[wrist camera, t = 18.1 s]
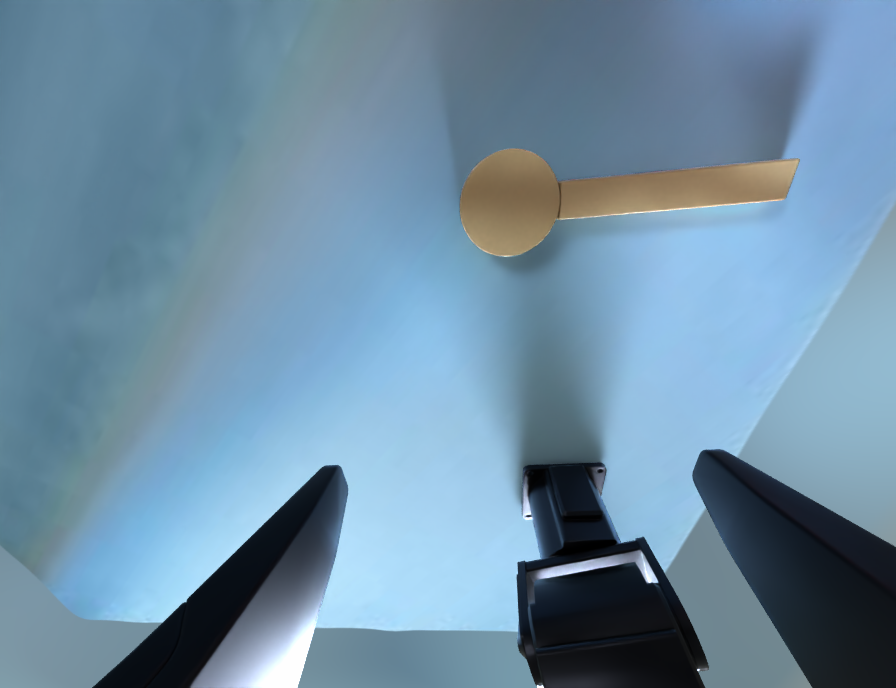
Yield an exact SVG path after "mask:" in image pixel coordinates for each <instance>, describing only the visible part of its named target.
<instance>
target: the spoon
mask: <svg viewBox="0 0 896 688" xmlns="http://www.w3.org/2000/svg"><path fill="white" fill-rule="evenodd" d="M799 161H800V159H798V158H792V159H776V160H766V161H756V162H745V163H735V164H725V165H715V166H704V167H694V168H684V169H674V170H664V171H653V172H643V173H633V174H623V175H612V176H602V177H592V178H582V179H571V180H561V181H557V178H556V176H555V174H554V172H553V170H552V169H551V167H550V166H549V165H548V163H547V162H546V161H545V160H544V159H542V158H541V157H540V156H538V155H537V154H535V153H533V152H530V151H527V150H524V149H505V150H501V151H498V152H495V153H493V154H491V155H489V156H487V157H486V158H484V159H483V160H481V161H480V162H479V163H478V164H477V165H476V166H475V167H474V168H473V169H472V171H471V172H470V174H469V175H468V177H467V179H466V181H465V182H464V185H463V188H462V192H461V196H460V216H461V221H462V225H463V227H464V230H465V232H466V233H467V235H468V237H469V238H470V239H471V241H472V242H473V243H474V244H475V245H476V246H477V247H479V248H480V249H481V250H483V251H485V252H487V253H489V254H492V255H496V256H515V255H519V254H522V253H525V252H527V251H529V250H531V249H532V248H534V247H535V246H537V245H538V244H539V243H540V242H541V241H542V240H543V239H544V238H545V237H546V236H547V235H548V233H549V232H550V230H551V229H552V227H553V225H554V223H555V220H556V219H558V220H566V219H578V218H589V217H600V216H611V215H622V214H633V213H645V212H656V211H667V210H678V209H689V208H701V207H712V206H723V205H734V204H745V203H756V202H768V201H779V200H784V199H785V198H786V196H787V194H788V191H789V188H790V185H791V183H792V180H793V177H794V175H795V172H796V169H797V167H798V164H799Z"/></svg>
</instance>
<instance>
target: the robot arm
mask: <svg viewBox="0 0 896 688" xmlns="http://www.w3.org/2000/svg"><path fill="white" fill-rule="evenodd" d="M605 475H606V468H605V466H604V464H603V463H599V462H598V463H572V464H546V465H527V466H525V467H524V468H523V488H522V516H523V518H524V519H533V524H534V529H535V533H536V538H537V543H538V548H539V552H540V557H541V559H539V560H534V561H529V562H525V561H521V562H518V575H517V592H518V612H519V627H518V648H519V651H520V653H521V654H522V655H523V656H524V657H525V658H526V659H527V662H528V665H529V667H530V671H531V674H532V676H533V679H534V682H535V684H536V686H537V687H538V688H705V686H704V684H703V682H702V680H701V677H700V675H699V673H698V671H706V670H709V666H708V662H707V659H706V656H705V654H704V652H703V649H702V646H701V644H700V642H699V639H698V637H697V635H696V633H695V631H694V628H693V626H692V624H691V622H690V620H689V618H688V616H687V614H686V612H685V610H684V608H683V606H682V604H681V602H680V600H679V598H678V596H677V595H676V593H675V591H674V589H673V587H672V586H671V584H670V582H669V580H668V579H667V577H666V575H665V573H664V572H663V570H662V568H661V566H660V565H659V563H658V561H657V559H656V558H655V556H654V554H653V552H652V551H651V549H650V547H649V545H648V544H647V542H646V540H645V538H644V537H641V538H636V539H635V540H634V541H629V542H624V543H621V542H620V539H619V537H618V535H617V532H616V530H615V528H614V526H613V523H612V521H611V519H610V516H609V514H608V512H607V510H606V507H605V505H604V503H603V500H602V498H601V494H602V489H603V484H604V480H605ZM692 476H693V481H694V484H695V486H696V488H697V490H698V492H699V494H700V496H701V498H702V500H703V502H704V504H705V506H706V508H707V510H708V512H709V514H710V516H711V518H712V520H713V522H714V524H715V526H716V528H717V530H718V532H719V534H720V536H721V538H722V540H723V542H724V544H725V545H726V547H727V549H728V551H729V552H730V554H731V556H732V558H733V559H734V561H735V563H736V564H737V566H738V567H739V569H740V570H741V572H742V574H743V576H744V577H745V579H746V580H747V582H748V584H749V585H750V587H751V589H752V590H753V592H754V593H755V595H756V597H757V598H758V600H759V602H760V603H761V605H762V606H763V608H764V610H765V611H766V613H767V615H768V616H769V618H770V619H771V621H772V623H773V624H774V626H775V628H776V629H777V631H778V632H779V634H780V636H781V637H782V639H783V641H784V642H785V644H786V645H787V647H788V649H789V650H790V652H791V654H792V655H793V657H794V658H795V660H796V661H797V663H798V665H799V667H800V668H801V670H802V671H803V673H804V675H805V676H806V678H807V680H808V681H809V683H810V684H811V686H812V688H896V547H894V546H893V545H891V544H890V543H888V542H886V541H884V540H882V539H881V538H879V537H877V536H875V535H874V534H871V533H870V532H868V531H866V530H865V529H863V528H861V527H859V526H858V525H856V524H854V523H852V522H850V521H849V520H847V519H845V518H843V517H842V516H840V515H838V514H836V513H834V512H833V511H831V510H829V509H827V508H826V507H824V506H822V505H820V504H819V503H817V502H815V501H813V500H811V499H810V498H808V497H806V496H804V495H803V494H801V493H799V492H797V491H795V490H794V489H792V488H790V487H788V486H786V485H785V484H783V483H781V482H779V481H778V480H776V479H774V478H772V477H771V476H769V475H767V474H765V473H763V472H762V471H760V470H758V469H756V468H755V467H753V466H751V465H749V464H748V463H746V462H744V461H742V460H740V459H739V458H737V457H735V456H733V455H732V454H730V453H728V452H726V451H724V450H720V449H714V450H703V451H702V452H701V453H700V455H699V457H698V460H697V462H696V465H695V467H694V470H693V475H692ZM347 496H348V485H347V482H346V480H345V477H344V474H343V471H342V468H341V467H340V466H339V465H327V466H324V467H322V468H321V469H320V470H319V471H318V472H317V473H316V474H315V475H314V476H313V477H312V478H311V479H310V480H309V481H308V482H306V483H305V484H304V485H303V486H302V487H301V488H300V489H299V490H298V491H297V492H296V493H295V494H294V495H293V496H292V497H291V498H290V499H289V500H288V501H287V502H286V503H285V504H284V505H283V506H282V507H281V508H280V509H279V510H278V511H277V512H276V513H275V514H274V515H273V516H272V517H271V518H270V519H269V520H268V521H267V522H266V523H264V524H263V525H262V526H261V527H260V528H259V529H258V530H257V531H256V532H255V533H254V534H253V535H252V536H251V537H250V538H249V539H248V540H247V541H246V542H245V543H244V544H243V545H242V546H241V547H240V548H239V549H238V550H237V551H236V552H235V553H234V554H233V555H232V556H231V557H230V558H229V559H228V560H227V561H226V562H225V563H224V564H222V565H221V566H220V567H219V568H218V569H217V570H216V571H215V572H214V573H213V574H212V575H211V576H210V577H209V578H208V579H207V580H206V581H205V582H204V583H203V584H202V585H201V586H200V587H199V588H198V589H197V590H196V591H195V592H194V593H193V594H192V595H191V596H190V597H189V598H188V599H187V602H184V603H182V604H181V605H180V606H179V607H178V608H177V609H176V610H175V611H174V612H173V613H172V614H171V615H170V616H169V617H168V618H167V619H166V620H165V621H164V622H163V623H162V624H161V625H160V626H159V627H158V628H157V629H156V630H154V631H153V632H152V634H150V635H149V636H148V637H147V638H146V639H145V640H144V641H143V642H142V643H141V644H140V645H139V646H138V647H137V648H136V649H135V650H133V651H132V652H131V653H130V654H129V655H128V656H127V657H126V658H125V659H124V660H122V661H121V662H120V663H119V664H118V665H117V666H116V667H115V668H114V669H113V670H111V671H110V672H109V673H108V674H107V675H106V676H105V677H104V678H102V680H100V681H99V682H98V683H97V684H96V685H95V686H94V687H92V688H297V685H298V682H299V678H300V675H301V672H302V669H303V665H304V661H305V659H306V655H307V652H308V649H309V645H310V642H311V638H312V635H313V632H314V628H315V625H316V622H317V618H318V615H319V612H320V608H321V605H322V602H323V598H324V595H325V591H326V588H327V585H328V581H329V578H330V575H331V571H332V568H333V564H334V561H335V557H336V552H337V548H338V543H339V538H340V533H341V527H342V522H343V517H344V512H345V507H346V502H347Z"/></svg>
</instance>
